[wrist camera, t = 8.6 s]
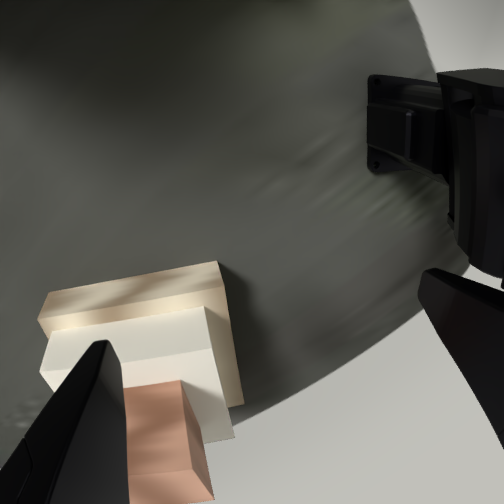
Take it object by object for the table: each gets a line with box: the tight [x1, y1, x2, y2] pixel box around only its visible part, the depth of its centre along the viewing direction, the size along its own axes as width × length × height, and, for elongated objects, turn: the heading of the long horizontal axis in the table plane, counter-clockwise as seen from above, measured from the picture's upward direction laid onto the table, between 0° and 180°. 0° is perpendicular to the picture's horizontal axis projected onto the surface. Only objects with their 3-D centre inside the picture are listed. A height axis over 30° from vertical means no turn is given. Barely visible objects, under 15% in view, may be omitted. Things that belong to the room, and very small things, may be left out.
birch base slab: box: [38, 261, 244, 408], centre depth 22 cm, size 12×12×4 cm
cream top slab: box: [40, 306, 235, 444], centre depth 19 cm, size 10×10×4 cm
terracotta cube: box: [123, 380, 215, 504], centre depth 15 cm, size 6×6×6 cm
